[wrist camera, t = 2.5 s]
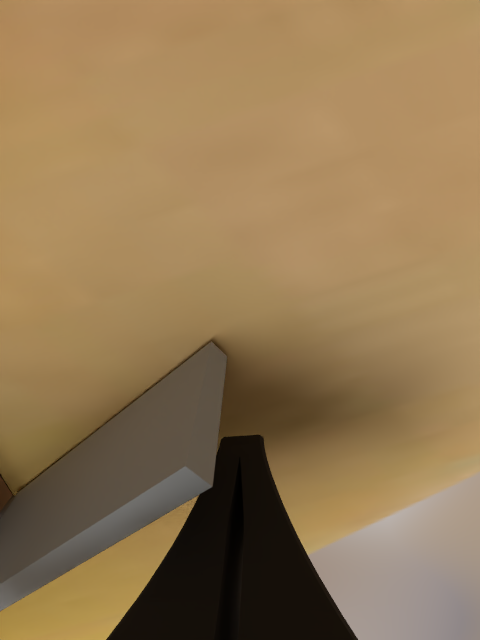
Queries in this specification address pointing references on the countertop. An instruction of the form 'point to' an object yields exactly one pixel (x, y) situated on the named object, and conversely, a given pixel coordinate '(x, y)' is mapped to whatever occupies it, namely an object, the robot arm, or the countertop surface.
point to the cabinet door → (116, 478)
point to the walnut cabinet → (4, 494)
